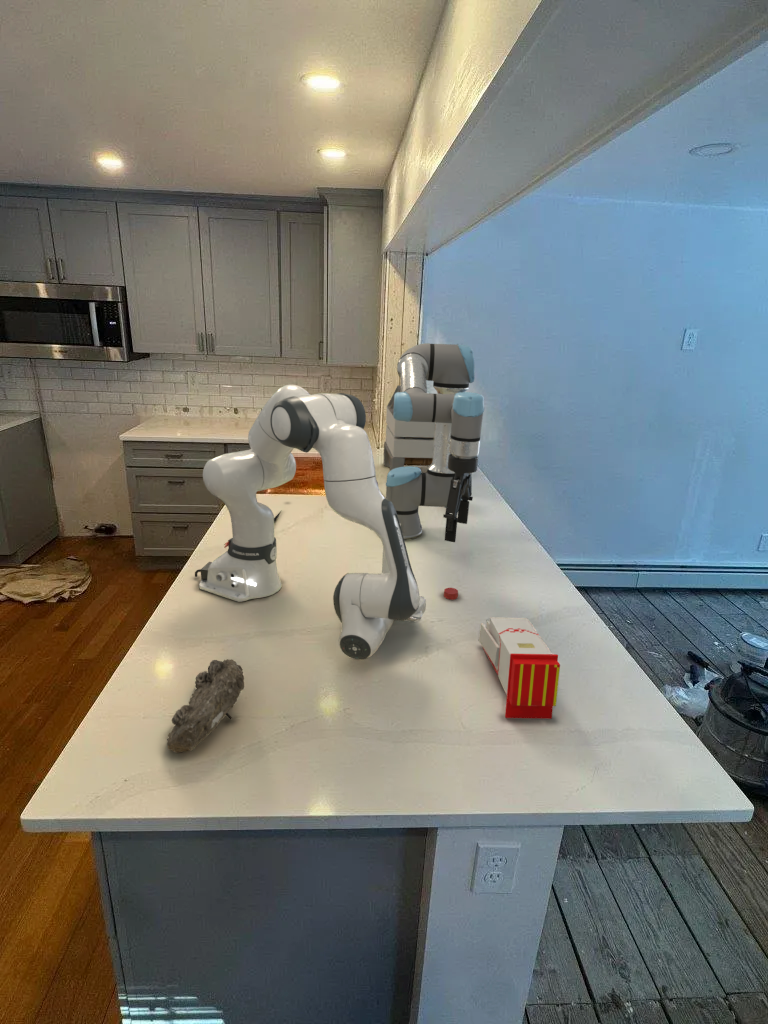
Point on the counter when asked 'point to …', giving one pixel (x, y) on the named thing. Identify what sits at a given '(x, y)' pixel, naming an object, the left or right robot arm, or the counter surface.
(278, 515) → the feather
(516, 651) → the toy
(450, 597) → the cap
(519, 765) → the counter surface
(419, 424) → the grey slatted box
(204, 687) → the fossil
